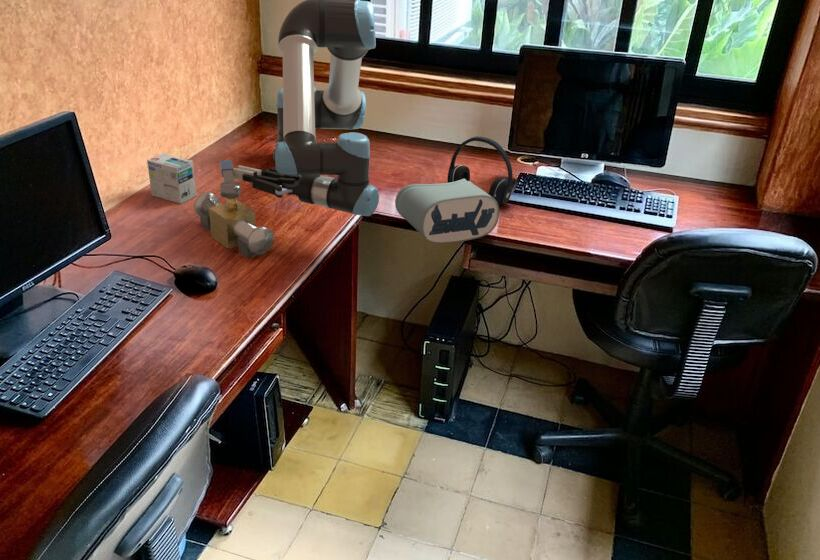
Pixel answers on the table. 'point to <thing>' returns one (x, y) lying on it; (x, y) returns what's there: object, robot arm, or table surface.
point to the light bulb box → (171, 178)
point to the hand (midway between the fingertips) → (236, 171)
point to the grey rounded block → (448, 210)
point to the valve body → (233, 225)
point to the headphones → (499, 187)
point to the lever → (228, 180)
